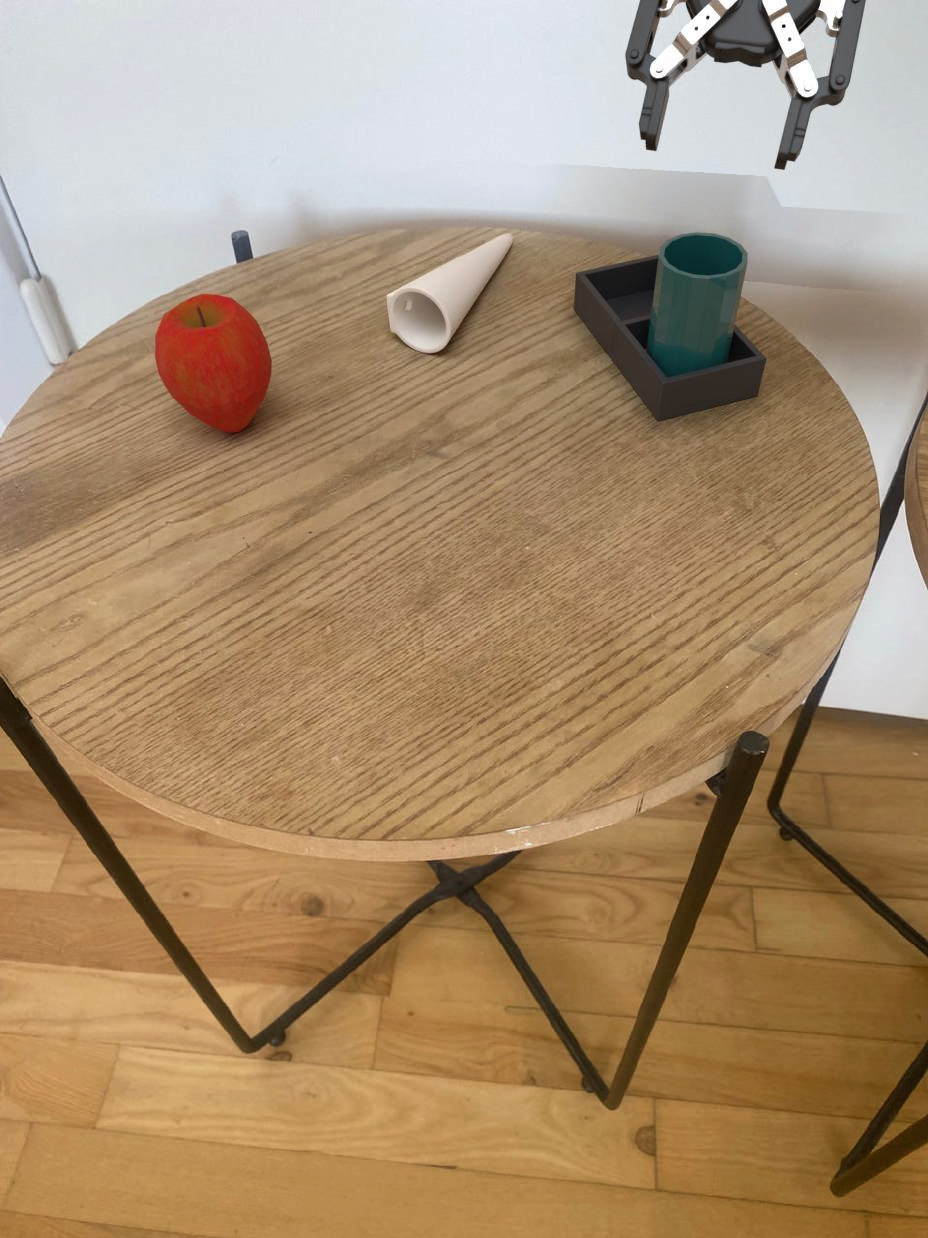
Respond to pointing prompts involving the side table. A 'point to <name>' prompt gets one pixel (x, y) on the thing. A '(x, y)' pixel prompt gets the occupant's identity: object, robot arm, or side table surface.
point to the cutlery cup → (695, 302)
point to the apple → (214, 360)
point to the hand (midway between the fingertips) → (715, 156)
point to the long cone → (443, 297)
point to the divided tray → (621, 326)
